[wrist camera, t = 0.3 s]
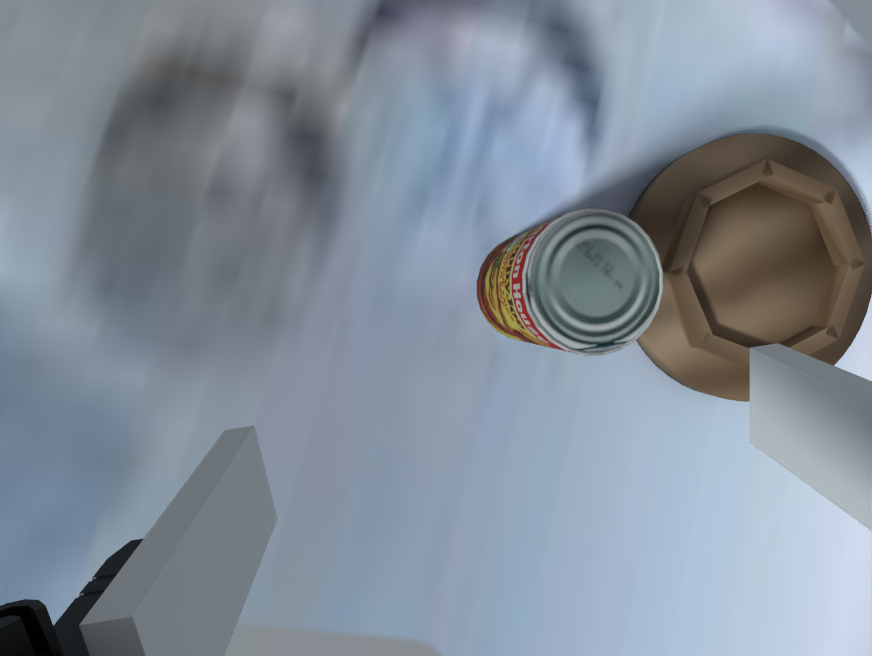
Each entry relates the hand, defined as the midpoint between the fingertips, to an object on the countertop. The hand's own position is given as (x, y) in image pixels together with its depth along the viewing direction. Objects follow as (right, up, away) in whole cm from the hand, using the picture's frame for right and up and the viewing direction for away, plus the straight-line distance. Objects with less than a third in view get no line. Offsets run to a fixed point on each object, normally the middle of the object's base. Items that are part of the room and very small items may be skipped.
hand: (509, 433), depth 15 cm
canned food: (+5, +6, +27) cm, 28 cm away
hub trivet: (+22, +7, +29) cm, 37 cm away
